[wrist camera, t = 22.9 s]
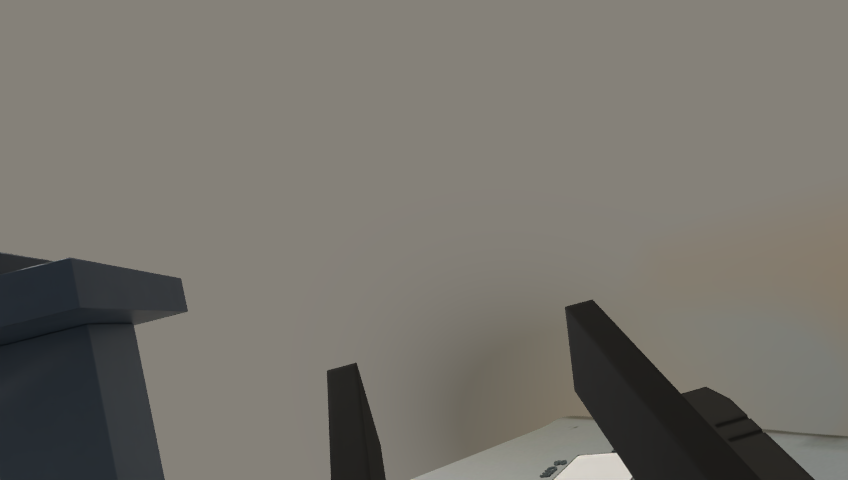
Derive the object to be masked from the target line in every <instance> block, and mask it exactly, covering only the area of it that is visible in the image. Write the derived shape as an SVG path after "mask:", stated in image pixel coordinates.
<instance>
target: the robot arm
mask: <svg viewBox="0 0 848 480" xmlns="http://www.w3.org/2000/svg"><path fill="white" fill-rule="evenodd" d="M565 310H566V319H567V328H568V337H569V346H570V354H571V363H572V371H573V380H574V389H575V392H576V393H577V395H578V396H579V398H580V399H581V401H582V402H583V404H584V405H585V407H586V408H587V410H588V411H589V412H590V414H591V416H592V417H593V419H594V420H595V421H596V423H597V424H598V426H599V427H600V429H601V430H602V432H603V433H604V435H605V436H606V438H607V439H608V441H609V442H610V444H611V445H612V447H613V448H614V450H615V451H616V453H617V454H618V456H619V457H620V459H621V460H622V462H623V463H624V465H625V466H626V468H627V469H628V471H629V472H630V474H631V475H632V477H633V478H634V480H815V479H814V478H812V477H811V476H810V475H809V474H808V473H807V472H806V471H805V470H804V469H803V468H802V467H801V466H800V465H799V464H798V463H797V462H796V461H795V460H794V459H793V458H792V457H790V456H789V455H788V454H787V453H786V452H785V451H784V450H783V449H782V448H781V447H780V446H779V445H778V444H777V443H776V442H775V441H774V440H773V439H772V438H771V437H769V436H768V435H767V434H766V433H763V432H762V429H761V428H760V427H759V426H758V425H757V424H756V423H755V422H754V421H753V420H752V419H749V418H748V417H747V415H746V414H745V413H744V412H743V411H742V410H741V409H740V408H739V407H738V406H737V405H736V404H735V403H734V402H733V401H732V400H730V399H729V398H727V397H725V396H723V395H721V394H719V393H717V392H715V391H713V390H711V389H709V388H707V387H703V388H700V389H696V390H693V391H690V392H686V393H682V394H680V393H679V392H678V390H677V389H676V388H675V387H674V386H673V385H672V384H671V383H670V382H669V381H668V380H667V379H666V377H664V375H663V374H662V373H661V372H660V371H659V370H658V369H657V368H656V367H655V366H654V365H653V364H652V363H651V361H650V360H649V359H648V358H647V357H646V356H645V355H644V354H643V353H642V352H641V351H640V350H639V349H638V348H637V347H636V345H635V344H634V343H633V342H632V341H631V340H630V339H629V338H628V337H627V336H626V335H625V334H624V333H623V332H622V331H621V329H619V327H618V326H617V325H616V324H615V323H614V322H613V321H612V320H611V319H610V318H609V317H608V316H607V315H606V314H605V312H604V311H603V310H602V309H601V308H600V307H599V306H598V305H597V304H596V303H595V302H594V301H593V300H589V301H586V302H582V303H578V304H574V305H570V306H567V307H565ZM327 383H328V409H329V436H330V464H331V480H386V479H385V472H384V465H383V458H382V452H381V445H380V442H379V439H378V435H377V431H376V428H375V425H374V422H373V418H372V414H371V411H370V407H369V404H368V401H367V397H366V394H365V390H364V387H363V383H362V380H361V377H360V373H359V370H358V366H357V363H354V364H350V365H346V366H343V367H339V368H335V369H331V370H328V371H327Z"/></svg>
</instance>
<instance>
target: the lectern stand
mask: <svg viewBox="0 0 848 480" xmlns="http://www.w3.org/2000/svg"><path fill="white" fill-rule="evenodd" d="M187 311H188V310H187V305H186V301H185V296H184V291H183V287H182V281H181V279H180V278H176V277H170V276H165V275H160V274H154V273H149V272H144V271H138V270H133V269H128V268H122V267H117V266H111V265H106V264H101V263H96V262H91V261H85V260H80V259H75V258H66V259H62V260H58V261H49V260H43V259H37V258H31V257H25V256H19V255H13V254H7V253H1V252H0V480H165V479H164V474H163V469H162V464H161V459H160V454H159V449H158V445H157V439H156V434H155V430H154V425H153V420H152V414H151V409H150V404H149V399H148V395H147V390H146V384H145V379H144V375H143V369H142V365H141V360H140V355H139V350H138V345H137V340H136V335H135V330H134V325H136V324H141V323H145V322H149V321H153V320H156V319H160V318H164V317H168V316H172V315H176V314H180V313H184V312H187Z"/></svg>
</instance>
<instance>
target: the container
mask: <svg viewBox="0 0 848 480" xmlns="http://www.w3.org/2000/svg"><path fill="white" fill-rule="evenodd" d="M560 464H561V465H565V464H567V461H566V460H563V461H555V462H554V465H555V466H557V465H560ZM552 469H554V470H552ZM556 470H557V467H549V468H548V469H547V470H545V473H542V474H543V475H540V478H542V477H550V476H551V474H553V472H555V471H556ZM553 480H634V478H633V477H632V475H631V474H630V472H629V471H628V469H627V468H626V466H625V465H624V463H623V462H622V460H621V459H620V457H619V456H618V454H617V453H616V451H615V450H612V453H602V454H588V455H578V456H577V457H576V458H575V459H574V460H572V461H571V462H570V463H569V464H568V465H567V466H566V467H565V468H564V469H563V470H562V471H561V472H560V473H559V474H558V475H557V476H556V477H555V478H554V479H553Z"/></svg>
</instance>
